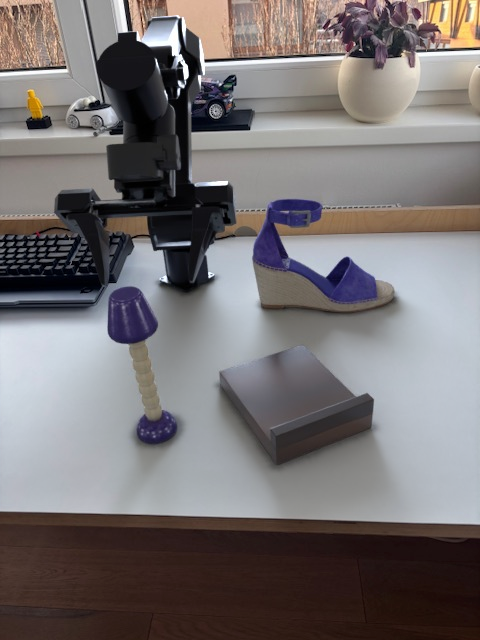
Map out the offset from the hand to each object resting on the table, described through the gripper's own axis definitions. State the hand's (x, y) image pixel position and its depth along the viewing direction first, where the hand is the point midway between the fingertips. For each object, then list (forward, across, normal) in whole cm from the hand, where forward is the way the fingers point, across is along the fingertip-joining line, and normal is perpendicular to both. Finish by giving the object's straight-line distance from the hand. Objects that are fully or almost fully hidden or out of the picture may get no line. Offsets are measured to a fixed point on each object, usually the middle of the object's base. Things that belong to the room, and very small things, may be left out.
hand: (147, 283), depth 57 cm
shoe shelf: (+12, +14, +6) cm, 20 cm away
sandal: (-3, +21, +22) cm, 31 cm away
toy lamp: (+15, 0, +4) cm, 16 cm away
